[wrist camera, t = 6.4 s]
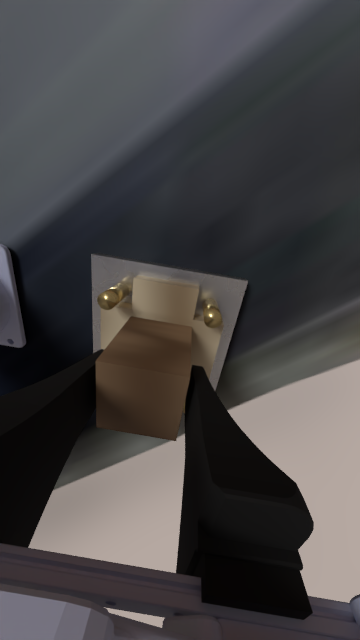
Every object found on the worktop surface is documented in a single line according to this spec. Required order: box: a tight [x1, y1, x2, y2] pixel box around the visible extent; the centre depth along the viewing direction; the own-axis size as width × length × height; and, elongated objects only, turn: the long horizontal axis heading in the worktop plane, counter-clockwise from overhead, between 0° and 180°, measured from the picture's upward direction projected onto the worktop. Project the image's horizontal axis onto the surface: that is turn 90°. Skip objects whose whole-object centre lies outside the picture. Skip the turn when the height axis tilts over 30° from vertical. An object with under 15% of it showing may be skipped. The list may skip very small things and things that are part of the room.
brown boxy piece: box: [96, 275, 224, 441], centre depth 12 cm, size 8×9×6 cm
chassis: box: [91, 253, 248, 414], centre depth 14 cm, size 10×11×4 cm
